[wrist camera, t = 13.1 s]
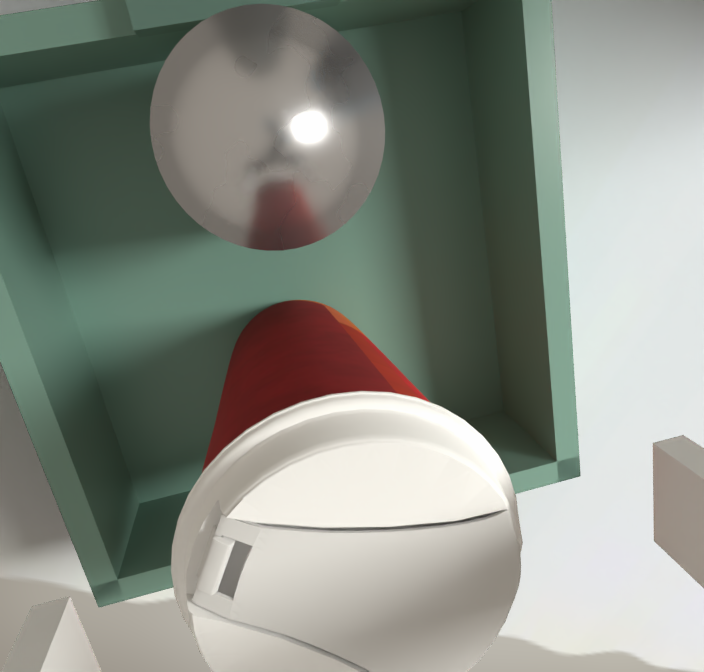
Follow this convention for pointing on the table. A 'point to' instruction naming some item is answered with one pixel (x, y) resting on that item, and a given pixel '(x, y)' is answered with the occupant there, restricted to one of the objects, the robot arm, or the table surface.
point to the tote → (272, 255)
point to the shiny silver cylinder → (267, 127)
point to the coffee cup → (341, 514)
